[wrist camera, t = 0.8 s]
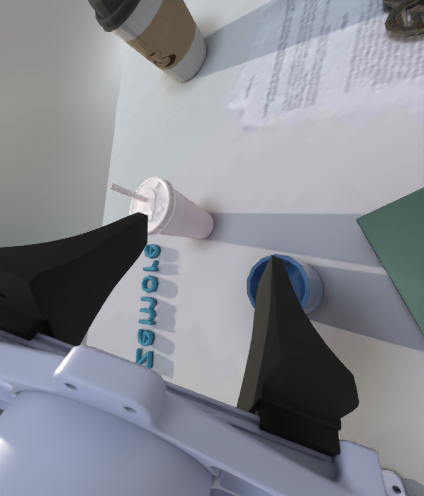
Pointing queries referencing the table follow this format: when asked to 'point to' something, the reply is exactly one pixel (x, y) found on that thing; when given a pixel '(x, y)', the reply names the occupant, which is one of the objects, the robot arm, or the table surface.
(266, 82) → the table surface
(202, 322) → the table surface
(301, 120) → the table surface
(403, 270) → the flat green board
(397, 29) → the corroded twin loop
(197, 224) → the smoothie
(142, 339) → the nameplate
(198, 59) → the coffee cup
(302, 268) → the blue cup
